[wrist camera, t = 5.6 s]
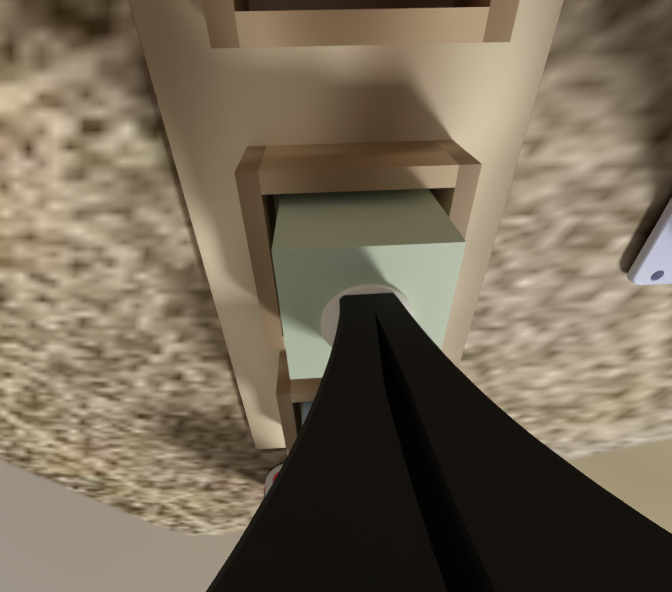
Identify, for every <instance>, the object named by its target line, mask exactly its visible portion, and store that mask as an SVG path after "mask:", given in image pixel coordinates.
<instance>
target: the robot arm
mask: <svg viewBox="0 0 672 592" xmlns="http://www.w3.org/2000/svg"><path fill="white" fill-rule="evenodd" d="M627 277H628V279H629V280H630V281H631V282H633V283H634V284H635V285H651V284H671V283H672V198H671V199H670V201H669V203H668V204H667V206H666V208H665V210H664V211H663V213H662V215H661V217H660V218H659V220H658V222H657V223H656V225H655V227H654V229H653V230H652V232H651V234H650V236H649V237H648V239H647V241H646V243H645V244H644V246H643V248H642V249H641V251H640V253H639V255H638V256H637V258H636V260H635V262H634V263H633V265H632V267H631V268H630V270H629V272H628V275H627ZM339 306H340V313H339V320H338V326H337V331H336V335H335V339H334V342H333V346H332V350H331V353H330V357H329V360H328V363H327V366H326V369H325V371H324V374H323V377H322V380H321V383H320V385H319V388H318V391H317V393H316V396H315V398H314V401H313V403H312V405H311V408H310V410H309V412H308V414H307V417H306V419H305V421H304V423H303V425H302V428H301V430H300V432H299V434H298V436H297V438H296V440H295V442H294V444H293V446H292V448H291V450H290V452H289V454H288V456H287V458H286V460H285V462H284V464H283V466H282V467H281V469H280V471H279V473H278V475H277V477H276V479H275V480H274V482H273V484H272V486H271V487H270V489H269V491H268V493H267V494H266V496H265V498H264V499H263V501H262V503H261V504H260V506H259V508H258V510H257V511H256V513H255V515H254V516H253V518H252V520H251V521H250V523H249V525H248V527H247V528H246V530H245V532H244V533H243V535H242V537H241V538H240V540H239V542H238V543H237V545H236V546H235V548H234V550H233V551H232V553H231V554H230V556H229V557H228V559H227V560H226V562H225V564H224V565H223V566H222V568H221V570H220V571H219V573H218V574H217V576H216V577H215V579H214V580H213V582H212V583H211V585H210V586H209V588H208V589H207V591H206V592H672V534H671V533H670V532H668V531H666V530H665V529H663V528H662V527H660V526H658V525H657V524H656V523H654V522H652V521H651V520H649V519H648V518H646V517H645V516H643V515H642V514H640V513H639V512H637V511H636V510H635V509H633V508H632V507H630V506H629V505H627V504H626V503H624V502H623V501H621V500H620V499H618V498H617V497H616V496H614V495H613V494H611V493H609V492H608V491H607V490H605V489H604V488H602V487H601V486H599V485H598V484H597V483H595V482H594V481H592V480H591V479H590V478H588V477H587V476H585V475H584V474H583V473H581V472H580V471H579V470H577V469H576V468H575V467H574V466H572V465H571V464H569V463H568V462H567V461H566V460H564V459H563V458H562V457H560V456H559V455H558V454H556V453H555V452H554V451H552V450H551V449H550V448H548V447H547V446H546V445H544V444H543V443H542V442H540V441H539V440H538V439H536V438H535V437H534V436H533V435H531V434H530V433H529V432H528V431H526V430H525V429H524V428H523V427H522V426H520V425H519V424H518V423H517V422H516V421H514V420H513V419H512V418H511V417H510V416H509V415H507V414H506V413H505V412H504V411H503V410H502V409H501V408H499V407H498V406H497V405H496V404H495V403H494V402H493V401H491V400H490V399H489V398H488V397H487V396H486V395H485V394H484V393H483V392H482V391H481V390H480V389H479V388H478V387H476V386H475V385H474V384H473V383H472V382H471V381H470V380H469V379H468V378H467V377H466V376H465V375H464V374H463V373H462V372H461V371H460V370H459V369H458V368H457V367H456V366H455V365H454V363H453V362H452V361H451V360H450V359H449V358H448V357H447V356H446V355H445V354H444V353H443V352H442V350H441V349H440V348H439V347H438V346H437V345H436V344H435V343H434V342H433V340H432V339H431V338H430V337H429V336H428V335H427V334H426V332H425V331H424V330H423V329H422V328H421V326H420V325H419V324H418V323H417V322H416V320H415V319H414V318H413V317H412V315H411V314H410V313H409V312H408V310H407V309H406V308H405V306H404V305H403V304H402V302H401V301H400V300H399V298H398V297H397V296H396V295H395V294H394V293H376V294H356V295H343V296H342V297H341V298H340V299H339Z"/></svg>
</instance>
